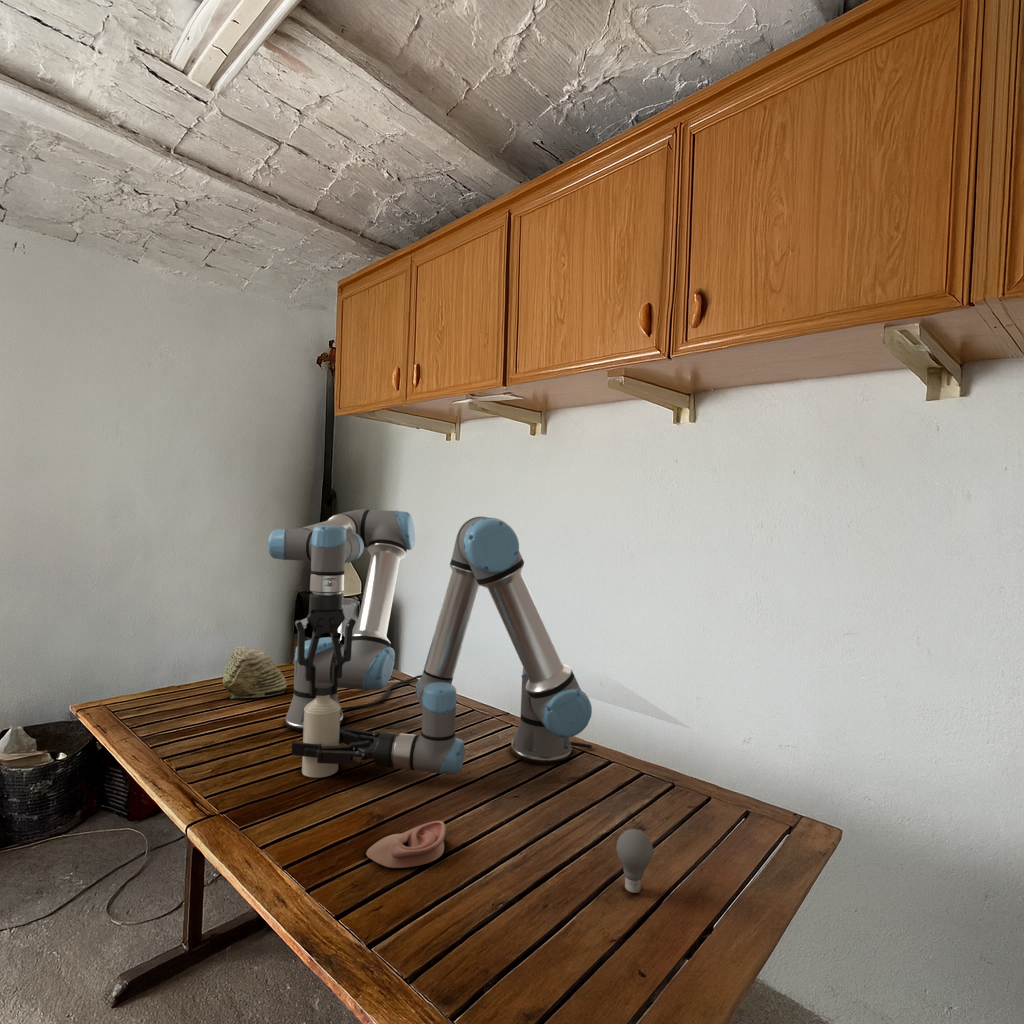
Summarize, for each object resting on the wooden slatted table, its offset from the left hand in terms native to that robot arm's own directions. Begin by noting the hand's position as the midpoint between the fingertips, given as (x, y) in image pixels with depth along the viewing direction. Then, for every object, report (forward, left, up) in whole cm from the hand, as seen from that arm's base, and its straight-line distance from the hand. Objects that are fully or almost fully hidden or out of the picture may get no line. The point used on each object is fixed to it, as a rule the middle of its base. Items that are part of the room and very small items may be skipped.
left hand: (323, 693), depth 146 cm
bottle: (0, 0, -18) cm, 18 cm away
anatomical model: (+9, +40, -18) cm, 45 cm away
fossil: (-18, -60, -18) cm, 65 cm away
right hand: (+2, -4, -12) cm, 13 cm away
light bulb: (-8, +76, -18) cm, 79 cm away
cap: (0, 0, +1) cm, 1 cm away
